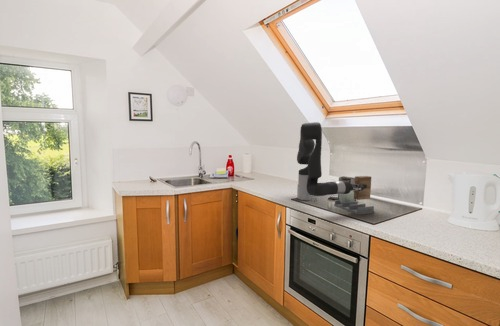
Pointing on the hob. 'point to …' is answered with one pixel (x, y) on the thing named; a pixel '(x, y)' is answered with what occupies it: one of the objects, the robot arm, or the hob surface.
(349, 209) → the dish rack
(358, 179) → the walnut board
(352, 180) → the coffee box
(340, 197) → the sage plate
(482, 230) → the hob surface
